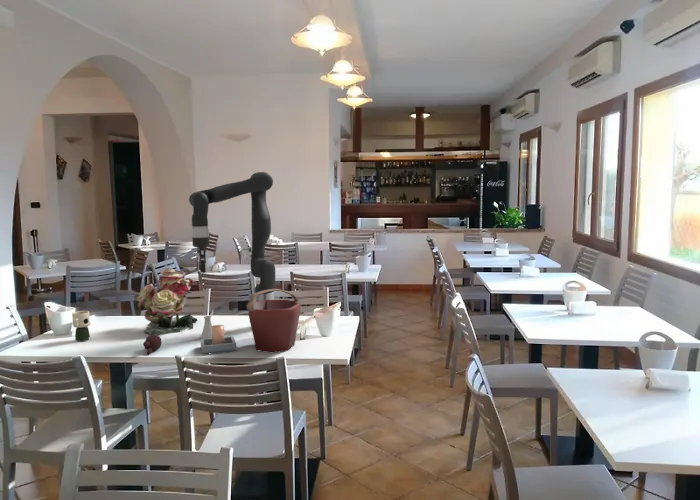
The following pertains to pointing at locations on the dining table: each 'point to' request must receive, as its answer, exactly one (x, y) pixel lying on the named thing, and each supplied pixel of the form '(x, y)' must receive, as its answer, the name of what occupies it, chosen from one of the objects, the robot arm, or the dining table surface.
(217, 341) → the terracotta cup
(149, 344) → the icecream
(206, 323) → the flask
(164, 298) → the rose bouquet
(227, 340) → the slate tray
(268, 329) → the bucket
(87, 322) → the character mug
